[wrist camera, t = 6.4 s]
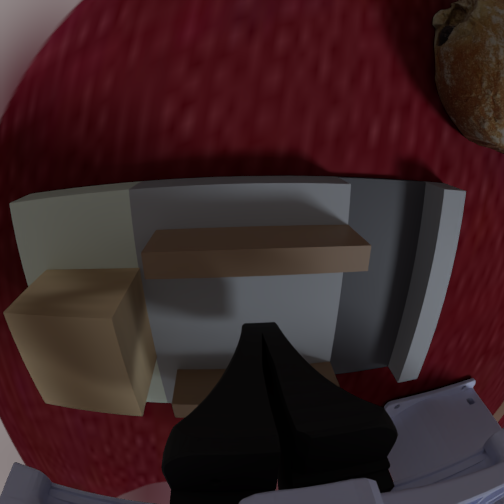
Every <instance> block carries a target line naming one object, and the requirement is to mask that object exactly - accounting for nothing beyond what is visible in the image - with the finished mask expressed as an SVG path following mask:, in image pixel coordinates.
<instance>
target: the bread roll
mask: <svg viewBox="0 0 504 504" xmlns="http://www.w3.org/2000/svg"><path fill="white" fill-rule="evenodd" d="M433 26H434V27H435V39H434V52H435V69H436V73H435V82H436V86H437V90H438V94H439V97H440V99H441V102H442V104H443V106H444V108H445V110H446V112H447V113H448V115H449V117H450V118H451V120H452V121H453V122H454V124H455V125H456V126H457V128H458V129H459V130H460V132H461V133H462V134H463V136H465V137H466V138H467V139H468V140H470V141H472V142H474V143H476V144H478V145H480V146H484V147H488V148H491V149H494V150H496V151H498V152H500V153H503V154H504V0H459V1H457V2H455V3H451V8H449V9H446V10H440V11H438V12H437V13H436V14H435V15H434V17H433Z"/></svg>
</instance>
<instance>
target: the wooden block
mask: <svg viewBox="0 0 504 504" xmlns="http://www.w3.org/2000/svg"><path fill="white" fill-rule="evenodd" d="M3 313H4V316H5V319H6V321H7V324H8V326H9V329H10V331H11V334H12V336H13V338H14V341H15V343H16V345H17V348H18V350H19V352H20V354H21V356H22V359H23V361H24V363H25V365H26V367H27V369H28V371H29V373H30V375H31V377H32V379H33V381H34V383H35V385H36V387H37V389H38V390H39V392H40V394H41V396H42V398H43V400H44V401H45V403H48V404H53V405H58V406H63V407H69V408H75V409H82V410H89V411H96V412H104V413H112V414H122V415H133V416H143V413H144V408H145V404H146V400H147V395H148V391H149V387H150V383H151V379H152V375H153V371H154V367H155V363H156V359H157V355H156V350H155V346H154V341H153V337H152V332H151V327H150V322H149V317H148V312H147V307H146V302H145V296H144V290H143V285H142V279H141V273H140V268H111V269H55V270H46V271H44V272H43V273H42V274H41V275H40V276H39V277H38V278H37V279H36V280H35V281H34V282H33V283H32V284H31V285H30V286H29V287H28V288H27V289H26V290H25V291H24V292H23V293H22V294H21V295H20V296H19V297H18V298H17V299H16V300H15V301H14V302H13V303H12V304H11V305H10V306H9V307H8V308H7V309H6V310H5V311H4V312H3Z"/></svg>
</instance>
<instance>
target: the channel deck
mask: <svg viewBox="0 0 504 504" xmlns="http://www.w3.org/2000/svg"><path fill="white" fill-rule="evenodd" d="M465 195H466V191H464V190H461V189H459V188H456V187H453V186H450V185H448V184H445V183H437V182H425V181H413V180H399V179H382V178H362V177H334V176H232V177H204V178H184V179H167V180H152V181H139V182H127V183H116V184H106V185H96V186H87V187H78V188H70V189H62V190H54V191H47V192H40V193H33V194H29V195H27V196H24V197H22V198H20V199H18V200H16V201H13V202H11V203H9V205H10V211H11V217H12V222H13V227H14V232H15V237H16V241H17V246H18V250H19V254H20V258H21V262H22V266H23V270H24V273H25V277H26V281H27V284H28V287H29V286H30V285H31V284H32V283H33V282H34V281H35V280H36V279H37V278H38V277H39V276H40V275H41V274H42V273H43V272H44V271H46V270H55V269H111V268H140V273H141V279H142V285H143V290H144V296H145V302H146V307H147V312H148V317H149V322H150V327H151V332H152V337H153V341H154V346H155V350H156V355H157V359H156V363H155V367H154V371H153V375H152V379H151V383H150V387H149V391H148V395H147V400H146V402H160V403H172V408H173V411H174V415H175V417H184V418H185V417H186V416H188V415H189V414H190V413H191V412H192V411H193V410H194V409H195V408H196V407H197V406H198V405H199V404H200V403H201V402H202V401H203V400H204V399H205V398H206V397H207V396H208V394H209V393H210V392H211V391H212V389H213V388H214V387H215V385H216V384H217V383H218V381H219V380H220V378H221V377H222V375H223V373H224V372H225V370H226V368H227V366H228V365H229V363H230V361H231V359H232V357H233V355H234V352H235V350H236V347H237V345H238V342H239V339H240V335H241V330H242V325H243V324H244V323H264V322H275V323H276V324H277V325H278V326H279V328H280V330H281V331H282V332H283V334H284V335H285V337H286V338H287V339H288V341H289V342H290V343H291V344H292V346H293V347H294V348H295V349H296V350H297V351H298V353H299V354H300V355H301V356H302V357H303V358H304V359H305V360H306V361H307V362H308V363H309V364H310V365H311V366H312V367H313V368H314V369H316V370H317V371H318V372H319V373H320V374H322V375H323V376H324V377H325V378H327V379H328V380H329V381H331V382H332V383H334V384H335V385H337V386H339V383H338V381H337V378H336V376H335V374H341V373H349V372H356V371H362V370H369V369H375V368H381V367H386V366H388V367H389V368H390V370H391V372H392V374H393V375H394V377H395V379H396V380H397V382H398V383H400V382H404V381H409V380H413V379H417V378H418V375H419V373H420V370H421V368H422V365H423V362H424V360H425V357H426V354H427V352H428V349H429V346H430V343H431V340H432V337H433V334H434V331H435V328H436V325H437V322H438V319H439V315H440V312H441V309H442V305H443V302H444V298H445V295H446V291H447V287H448V283H449V279H450V275H451V271H452V267H453V262H454V258H455V253H456V248H457V244H458V238H459V233H460V227H461V222H462V215H463V209H464V202H465ZM339 387H340V386H339Z"/></svg>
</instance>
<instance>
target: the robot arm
mask: <svg viewBox="0 0 504 504" xmlns="http://www.w3.org/2000/svg"><path fill="white" fill-rule="evenodd" d="M475 382H476V381H475V379H474V378H471V379H468V380H465V381H462V382H459V383H456V384H453V385H449V386H446V387H443V388H439V389H436V390H432V391H429V392H425V393H421V394H417V395H414V396H410V397H406V398H401V399H397V400H393V401H389V402H388V403H387V404H386V405H385V406H384V408H383V407H380V406H378V405H375V404H372V403H370V402H367V401H365V400H363V399H360V398H358V397H356V396H354V395H352V394H350V393H349V392H347V391H345V390H343V389H342V388H340V387H339V386H337V385H335V384H334V383H332V382H331V381H329V380H328V379H327V378H325V377H324V376H323V375H322V374H320V373H319V372H318V371H317V370H316V369H314V368H313V367H312V366H311V365H310V364H309V363H308V362H307V361H306V360H305V359H304V358H303V357H302V356H301V355H300V354H299V353H298V351H297V350H296V349H295V348H294V347H293V346H292V344H291V343H290V342H289V341H288V339H287V338H286V337H285V335H284V334H283V332H282V331H281V330H280V328H279V326H278V325H277V324H276V323H275V322H264V323H244V324H243V325H242V330H241V335H240V339H239V342H238V345H237V347H236V350H235V352H234V355H233V357H232V359H231V361H230V363H229V365H228V366H227V368H226V370H225V372H224V373H223V375H222V377H221V378H220V380H219V381H218V383H217V384H216V385H215V387H214V388H213V389H212V391H211V392H210V393H209V394H208V396H207V397H206V398H205V399H204V400H203V401H202V402H201V403H200V404H199V405H198V406H197V407H196V408H195V409H194V410H193V411H192V412H191V413H190V414H189V415H188V416H186V417H185V418H184V419H183V420H181V421H180V422H179V423H178V424H176V425H175V426H174V427H173V429H172V431H171V433H170V435H169V437H168V440H167V443H166V446H165V449H164V453H163V460H162V472H163V474H164V476H165V478H166V480H167V482H168V484H169V486H170V488H171V496H170V504H504V428H503V429H501V427H500V425H499V424H498V423H497V421H496V420H495V418H494V417H493V415H492V414H491V413H490V411H489V410H488V408H487V407H486V406H485V404H484V403H483V402H482V400H481V399H480V397H479V396H478V395H477V393H476V392H475V391H474V389H473V386H474V385H475ZM388 469H389V470H388ZM389 471H390V473H389ZM390 474H391V476H392V478H391V476H390ZM277 479H278V489H279V490H277V491H275V489H276V484H277ZM392 479H393V481H394V482H393V481H392ZM0 504H155V503H146V502H139V501H132V500H125V499H119V498H114V497H108V496H103V495H98V494H94V493H89V492H85V491H81V490H77V489H73V488H69V487H65V486H62V485H58V484H55V483H52V482H51V481H50V479H49V478H48V477H47V476H46V475H45V474H44V473H42V472H41V471H39V470H37V469H34V468H31V467H28V466H25V465H22V464H20V463H17V462H15V463H14V464H13V466H12V469H11V471H10V474H9V476H8V478H7V481H6V483H5V486H4V489H3V491H2V494H1V496H0Z"/></svg>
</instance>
